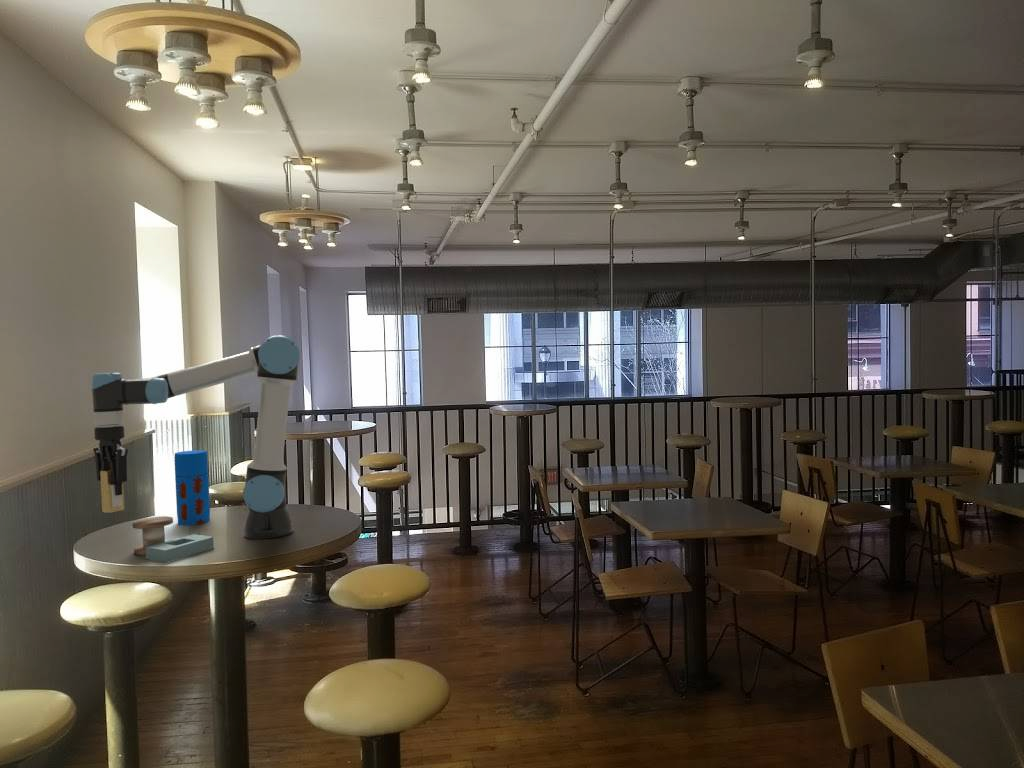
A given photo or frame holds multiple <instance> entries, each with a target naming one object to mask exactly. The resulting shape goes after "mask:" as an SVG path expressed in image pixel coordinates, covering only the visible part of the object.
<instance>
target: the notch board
mask: <svg viewBox="0 0 1024 768" xmlns="http://www.w3.org/2000/svg"><path fill="white" fill-rule="evenodd" d="M214 544H215V543H214V536H210V535H209V536H208V535H201V534H196V533H193V534H188V535H186V536H182V537H179V538H175V539H171V540H167V541H166V540H165V542H163V543H159V544H155V545H152V546H148V547H146V556H145V559H146V560H149V559H150V560H149V561H154V562H160V563H165V562H166V563H169V562H173V561H176V560H179V559H183V558H185V557H190V556H193V555H196V554H200V553H203V552H206V551H209V550H213V549H215V548H214V547H215V545H214Z"/></svg>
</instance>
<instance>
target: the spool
mask: <svg viewBox="0 0 1024 768" xmlns="http://www.w3.org/2000/svg"><path fill="white" fill-rule="evenodd" d="M131 524H132V526H131V527H132V528H133V529H135V530H137V529H138V530H141V532H142V544H140V545H137V546H135V547H134V548H133V554H134V555H135V556H140V555H141V557H142V555H146V547H148V546H152V545H155V544H159V543H163V542H166V534H165V527H166V526H170V525H172V524H174V517H173V516H169V515H168V516H163V515H161V516H151V517H150V516H149V517H145V518H140V519H136V520H134V521H132V522H131Z"/></svg>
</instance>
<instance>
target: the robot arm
mask: <svg viewBox="0 0 1024 768" xmlns="http://www.w3.org/2000/svg"><path fill="white" fill-rule="evenodd" d="M300 351H301V350H300V348H299V346H298V344H297V342H295V341H294V340H293V339H292V338H290V337H289V336H287V335H282V334H281V335H278V334H276V335H272V336H268V338H266V339H264V341H262V343H261V344H258V345H256V346H255V345H254V346H252V347H250V349H249V351H245V352H241V353H239V354H234V355H231V356H227V357H224V358H220V359H215V360H213V361H209V362H205V363H202V364H201V363H200V364H198V365H194V366H190V367H186V368H182V369H179V370H175V371H172V372H169V373H164V374H161V375H157V376H153V377H146V378H130V379H129V378H123V377H122V373H120V372H101V373H100V372H97V373H94V374H93V375H92V379H91V380H92V384H91V385H92V386H91V387H92V388H91V391H92V393H91V394H92V403H93V425H94V426H95V428H94V439H95V440H96V441H99V443H98V445H97V447H93V449H92V450H93V453H94V457H95V459H94V460H95V469H96V471H95V472H96V480H97V481H100V482H101V476H100V471H103V470H110V469H111V475H112V481H113V483H110V484H111V497H112V507H117V506H122V505H123V502H122V483H123V484H124V482H127V480H128V470H127V469H128V466H127V465H128V463H127V460H128V457H127V456H128V452H129V448H128V447H127V448H126V447H125V448H124V447H122V442H121V439H124V438H125V427H124V425H122V424H124V423H125V421H124V416H125V414H124V405H127V406H128V405H150V404H152V405H157V404H164V403H166V402H167V401H168V399H170V398H174V397H178V396H180V395H185V394H188V393H192V392H195V391H200V390H202V389H206V388H210V387H214V386H217V385H221V384H224V383H229V382H231V381H235V380H239V379H243V378H246V377H249V376H253V375H257V376H256V378H257V379H258V380H259V381H260V385H261V387H260V395H259V406H258V415H257V421H256V422H257V423H256V431H255V432H256V433H255V440H254V441H255V442H254V450H253V451H254V452H253V457H252V458H253V460H252V461H251V462H250V463H248V464H247V466H246V475H245V484H244V487H243V491H242V498H243V500H244V503H245V504H246V505H247V507H248V514H247V519H246V522H245V526H244V528H243V536H244V538H246V539H253V540H254V539H255V540H264V539H265V540H266V539H274V538H280V537H283V536H287V535H289V534H292V533H293V531H294V529H293V521H292V520H291V518H290V514H289V511H288V510H287V496H286V495H287V493H286V480H287V479H286V477H287V468H288V467H287V466H286V465H285V463H284V462H283V460H284V452H285V451H284V450H285V442H286V441H285V440H286V433H287V425H288V424H287V423H288V413H289V405H290V396H291V388H292V387H291V386H292V385H294V384H295V383H296V382H297V380H298V369H299V362H300V358H301V357H300V356H301V352H300Z"/></svg>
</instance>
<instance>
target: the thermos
mask: <svg viewBox="0 0 1024 768" xmlns="http://www.w3.org/2000/svg"><path fill="white" fill-rule="evenodd" d="M208 462H209V461H208V452H207V450H202V449H200V450H199V449H198V450H197V449H196V450H195V449H194V450H184V451H178V452H174V477H175V478H174V480H175V497H176V498H175V501H176V502H175V503H176V517H177V524H178V525H181V526H191V525H192V526H194V525H200V524H204V523H208V522H211V521H210V520H211V507H210V506H211V503H210V486H209V484H210V483H209V482H210V481H209V463H208Z"/></svg>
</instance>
